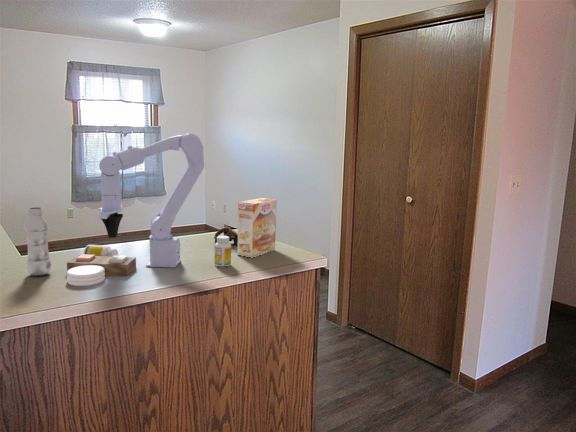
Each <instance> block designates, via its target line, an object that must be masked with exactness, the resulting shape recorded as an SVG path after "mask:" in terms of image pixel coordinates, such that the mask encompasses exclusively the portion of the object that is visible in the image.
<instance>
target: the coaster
mask: <svg viewBox="0 0 576 432" xmlns="http://www.w3.org/2000/svg"><path fill="white" fill-rule="evenodd" d="M66 271H67V270H66ZM104 272H105V269H104V268H103V267H101V266H97V265H85V266H78V267H74V268H71V269H70V270H68V271H67V272H66V275H67V276H66V279H67V280H66V281H67V284H68V285H70V286H73V287H88V286H93V285H98V284H101V283H103V282H104V281H105V280H106V275H105V273H104Z"/></svg>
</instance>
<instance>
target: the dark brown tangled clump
mask: <svg viewBox="0 0 576 432" xmlns="http://www.w3.org/2000/svg"><path fill="white" fill-rule="evenodd" d="M221 234H223V236H228V237H229V242H232V241H233V244H234V243H236V244H237V245H238V232H237V231H235V230H234V229H232V228H231V227H229V226H226V227H223V228H220V229H219V230H217V231H216V232H215V233H214V236H213V239H214V245H215V244H216V243H217V237H218V236H221ZM236 244H235V245H236Z"/></svg>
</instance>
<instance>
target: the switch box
mask: <svg viewBox="0 0 576 432" xmlns="http://www.w3.org/2000/svg"><path fill="white" fill-rule="evenodd" d="M79 256H80V255H78V256H76V257H74V258H73V259H71V260H69V261H67V262H66V271H68V270H70V269H71V268H74V267H78V266H85V265H97V266H101V267H103V268H104V269H105V272H104V273H105V276H116V277H118V276H119V277H120V276H121V277H128V276H129V275H130V274H131V273H132V272H134V271H135V270H136V269H137V257H135V256H134V257H132V256H130V257H129V256H127V261H126V262H124V263H110V262H109V259H110V258H112V257H107V256H95V259H94V260H93V261H91V262H78V261H77V260H76V258H77V257H79Z"/></svg>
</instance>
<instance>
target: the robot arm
mask: <svg viewBox="0 0 576 432" xmlns="http://www.w3.org/2000/svg"><path fill="white" fill-rule="evenodd" d="M203 145H204V144H203V143H202V140H201V138H200V137H199V136H198V135H196V134H195V133H191V132H187V133H184V134H183V135H182V134H178V135H174V136H170V137H167V138H164V139H161V140H159V141H157V142H154V143H152V144H150V145H147V146H145V147H139V146H137V145H134V146H133V145H128V146H127V147H126V149H123V150H121V151H114V152H112V153H111V154H112V155H107V156H105V157H103V158H101V160H100V162H99V164H98V165H99V170H100V172H101V173H100V178H101V179H100V191H101V192H100V194H101V207H99V208H97V211H99V219H100V220H101V221H102V223H103V225H104V227H105V230H106V233H107V237H108V238H110V239H111V238H113V239H115V238H117V236H118V232H119V228H120V224H121V220H122V218H123V217H124V214H123V213H121V212H123V210H124V209H123V208H124V206H123V204H122V185H121V183H122V181H121V177H120V175H121V174H120V171H125V170H129V169H131V168H134V167H137V166H139V165H141V164H144V163H145V161H146V158H149V157H152V156H154V155H157V154H160V153H163V152H166V151H169V150H172V151H176V152H177V151H180V148H181V150H182V152H183V153H184V155H185V158H186V161H187V164H188V165H187V167H186V168H185V170H184V172H183V174H182V175H181V177H180V178H179V180H178V181H177V184H176V185H175V187H174V189H173V190H172V192H171V194H170V195H169V197H168V199H167V201H166V202H165V204H164V206H163V207H162V208H161V210H160V211H159V213H158V214H157V215H155V216H153V218H152V219H151V221H150V222H151V223H150V229H149V230H150V235H149V261H148V263H146V264H145V266H146V267H149V268H150V267H151V268H152V267H155V268H176V267H177V266H178V265H179V264H180V262H181V261H182V260H181V240H180V238H178V237H173V234H172V233H171V232H172V227H173V224H174V222H175V220H176V217H177V214H178V213H179V211H180V209H181V207H182V206H183V204H184V203H185V201H186V199H187V197H188V196H189V194H190V192H191V190H192V189H193V187H194V186H195V184H196V182H197V181H198V178H199V177H200V175H201V174H202V172H203V171H204V169H205V155H204V146H203Z"/></svg>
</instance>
